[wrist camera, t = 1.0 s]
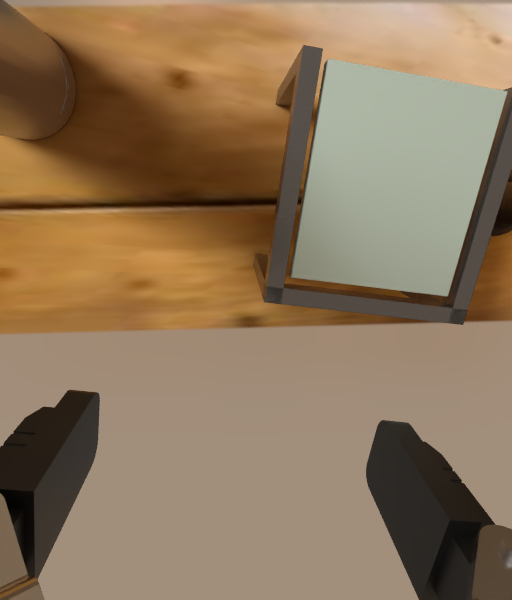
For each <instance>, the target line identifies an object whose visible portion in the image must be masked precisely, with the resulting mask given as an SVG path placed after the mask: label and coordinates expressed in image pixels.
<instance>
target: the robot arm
mask: <svg viewBox="0 0 512 600" xmlns="http://www.w3.org/2000/svg"><path fill="white" fill-rule="evenodd" d="M75 98H76V85H75V78H74V74H73V71H72V67H71V65H70V63H69V61H68V59H67V57H66V55H65V54H64V52H63V51H62V50H61V48H60V47H59V46H58V44H57V43H56V42H55V41H53V40H52V39H51V38H50V37H49V36H48V35H47V34H46V33H44V32H43V31H42V30H41V29H39V28H38V27H37V26H36V25H34V24H33V23H32V22H31V21H29V20H28V19H27V18H26V17H25V16H23V15H22V14H21V13H20V12H18V11H17V10H16V9H14V8H13V7H12V6H11V5H9V4H8V3H7V2H5V1H4V0H0V135H3V136H8V137H14V138H20V139H26V140H34V139H41V138H45V137H48V136H50V135H52V134H54V133H55V132H57V131H59V130H60V129H61V128H62V127H63V126H64V125H65V124H66V122H67V120H68V119H69V117H70V116H71V114H72V111H73V108H74V105H75ZM99 399H100V398H99V394H98V393H96V392H86V391H76V390H69V391H67V393H66V394H65V395H64V396H63V398H62V399H61V400H60V402H59V403H58V404H57V405H56V407H55V408H52V407H42V408H41V409H39V410H37V411H36V412H34V413H32V414H31V415H29V416H28V417H26V418H25V419H24V420H23V421H22V422H21V424H20V425H19V426H18V427H17V428H16V429H15V431H14V433H13V434H11V435H10V436H9V437H8V439H7V440H6V441H5V442H4V445H3V446H1V447H0V600H44V597H43V594H42V591H41V588H40V585H39V582H38V580H37V579H38V577H39V575H40V573H41V570H42V568H43V566H44V564H45V562H46V560H47V558H48V556H49V554H50V552H51V549H52V548H53V546H54V543H55V541H56V539H57V537H58V535H59V533H60V531H61V529H62V527H63V525H64V523H65V521H66V518H67V516H68V514H69V512H70V510H71V508H72V506H73V504H74V502H75V500H76V498H77V495H78V494H79V491H80V489H81V487H82V485H83V483H84V481H85V479H86V477H87V475H88V473H89V471H90V468H91V466H92V464H93V461H94V458H95V454H96V450H97V444H98V426H99V402H100V400H99ZM366 477H367V483H368V487H369V489H370V491H371V494H372V496H373V498H374V500H375V502H376V505H377V507H378V509H379V511H380V514H381V515H382V518H383V520H384V522H385V525H386V527H387V529H388V531H389V533H390V536H391V538H392V540H393V543H394V545H395V547H396V549H397V551H398V554H399V556H400V558H401V560H402V563H403V565H404V567H405V569H406V571H407V574H408V576H409V578H410V580H411V583H412V585H413V587H414V589H415V591H416V593H417V596H418V598H419V600H512V529H510V528H507V527H504V526H499V525H495V523H494V522H493V521H492V519H491V518H490V517H489V516H488V514H487V513H486V512H485V510H484V509H483V508H482V506H481V505H480V504H479V503H478V501H477V500H476V499H475V497H474V496H473V495H472V493H471V492H470V491H469V490H468V488H467V487H466V486H465V484H464V483H462V482H461V481H462V480H461V479H460V478H459V476H458V475H457V474H456V473H455V472H454V471H453V470H452V467H451V466H450V465H449V464H448V462H447V461H446V460H445V458H444V457H443V456H442V454H440V453H439V452H438V451H437V450H435V449H434V448H433V447H432V446H430V445H429V444H428V443H426V442H423V441H422V440H421V439H420V437H419V436H418V435H417V433H416V432H415V431H414V429H413V428H412V426H411V425H410V424H409V423H405V422H395V421H385V420H382V421H381V422H380V423H379V424H378V427H377V430H376V433H375V437H374V441H373V444H372V448H371V451H370V455H369V459H368V462H367V468H366Z"/></svg>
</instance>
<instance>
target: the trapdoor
mask: <svg viewBox="0 0 512 600" xmlns="http://www.w3.org/2000/svg"><path fill="white" fill-rule="evenodd" d="M507 92H508V91H502V90H497V89H492V88H486V87H481V86H475V85H470V84H464V83H459V82H453V81H448V80H442V79H437V78H431V77H426V76H421V75H415V74H410V73H404V72H399V71H393V70H388V69H382V68H377V67H371V66H366V65H360V64H355V63H349V62H344V61H339V60H333V59H328V60H327V61H326V62H325V65H324V71H323V77H322V83H321V89H320V95H319V101H318V107H317V112H316V118H315V124H314V130H313V136H312V142H311V148H310V154H309V160H308V166H307V172H306V178H305V184H304V190H303V196H302V202H301V208H300V214H299V220H298V225H297V231H296V237H295V243H294V249H293V255H292V261H291V267H290V273H289V275H290V276H291V277H292V278H300V279H308V280H316V281H325V282H333V283H341V284H349V285H358V286H366V287H374V288H382V289H391V290H399V291H407V292H415V293H424V294H432V295H440V296H448V294H449V290H450V287H451V283H452V280H453V276H454V273H455V270H456V266H457V263H458V259H459V256H460V252H461V249H462V246H463V242H464V239H465V235H466V232H467V229H468V225H469V222H470V218H471V215H472V211H473V208H474V205H475V201H476V198H477V194H478V191H479V187H480V184H481V181H482V177H483V174H484V170H485V167H486V163H487V160H488V157H489V153H490V150H491V146H492V143H493V139H494V136H495V133H496V129H497V126H498V122H499V119H500V116H501V112H502V109H503V105H504V102H505V98H506V95H507Z"/></svg>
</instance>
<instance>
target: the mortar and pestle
mask: <svg viewBox="0 0 512 600" xmlns="http://www.w3.org/2000/svg"><path fill="white" fill-rule="evenodd" d="M511 230H512V169H511V172H510V175H509V178H508V181H507V185H506V188H505V191H504V194H503V197H502V201H501V204H500V207H499V210H498V214H497V217H496V220H495V223H494V226H493V230H492V233H491V236H498V235H502V234H505V233H508V232H510V231H511Z"/></svg>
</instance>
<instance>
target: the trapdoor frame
mask: <svg viewBox="0 0 512 600" xmlns="http://www.w3.org/2000/svg"><path fill="white" fill-rule="evenodd" d="M322 51H323V49H322V48H317V47H311V46H306V45H303V47H302V49H301V50H300V52H299V54H298V56H297V58H296V59H295V61H294V63H293V65H292V66H291V68H290V70H289V72H288V73H287V75H286V77H285V79H284V80H283V82H282V84H281V86H280V87H279V89H278V94H277V101H276V104H277V105H283V106H290V104H291V103H292V104H291V111H290V118H289V124H288V131H287V138H286V144H285V151H284V158H283V164H282V171H281V177H280V184H279V191H278V197H277V204H276V211H275V217H274V224H273V231H272V237H271V244H270V251H269V257H267V255H263V254H255V258H254V268H255V272H256V275H257V279H258V282H259V286H260V289H261V292H262V296H263V299H264V302H267V303H276V304H285V305H293V306H302V307H311V308H320V309H329V310H337V311H346V312H355V313H364V314H373V315H381V316H390V317H399V318H408V319H417V320H426V321H434V322H443V323H452V324H461V325H463V323H464V320H465V317H466V313H467V310H468V307H469V304H470V301H471V297H472V294H473V291H474V288H475V284H476V281H477V278H478V275H479V272H480V268H481V265H482V262H483V259H484V255H485V252H486V249H487V246H488V243H489V239H490V236H491V233H492V230H493V226H494V223H495V220H496V217H497V214H498V210H499V207H500V204H501V201H502V197H503V194H504V191H505V188H506V185H507V181H508V178H509V175H510V172H511V168H512V88H509V89H505V90H502V91H508V92H507V95H506V98H505V102H504V105H503V109H502V112H501V116H500V119H499V122H498V126H497V129H496V133H495V136H494V139H493V143H492V146H491V150H490V153H489V157H488V160H487V163H486V167H485V170H484V174H483V177H482V181H481V184H480V187H479V191H478V194H477V198H476V201H475V205H474V208H473V211H472V215H471V218H470V222H469V225H468V229H467V232H466V235H465V239H464V242H463V246H462V249H461V252H460V256H459V259H458V263H457V266H456V270H455V273H454V276H453V280H452V283H451V287H450V290H449V294H448V296H444V297H443V296H440V295H432V294H424V293H415V292H407V291H400V292H402V293H403V294H405V295H406V296H408V297H409V298H403V297H394V296H386V295H378V294H369V293H361V292H353V291H344V290H336V289H327V288H319V287H311V286H302V285H294V284H286V283H284V281H285V275H286V269H287V263H288V257H289V250H290V244H291V238H292V232H293V226H294V220H295V214H296V208H297V202H298V196H299V190H300V184H301V178H302V172H303V166H304V160H305V154H306V148H307V142H308V136H309V130H310V123H311V117H312V111H313V105H314V99H315V93H316V87H317V81H318V75H319V69H320V63H321V57H322Z"/></svg>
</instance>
